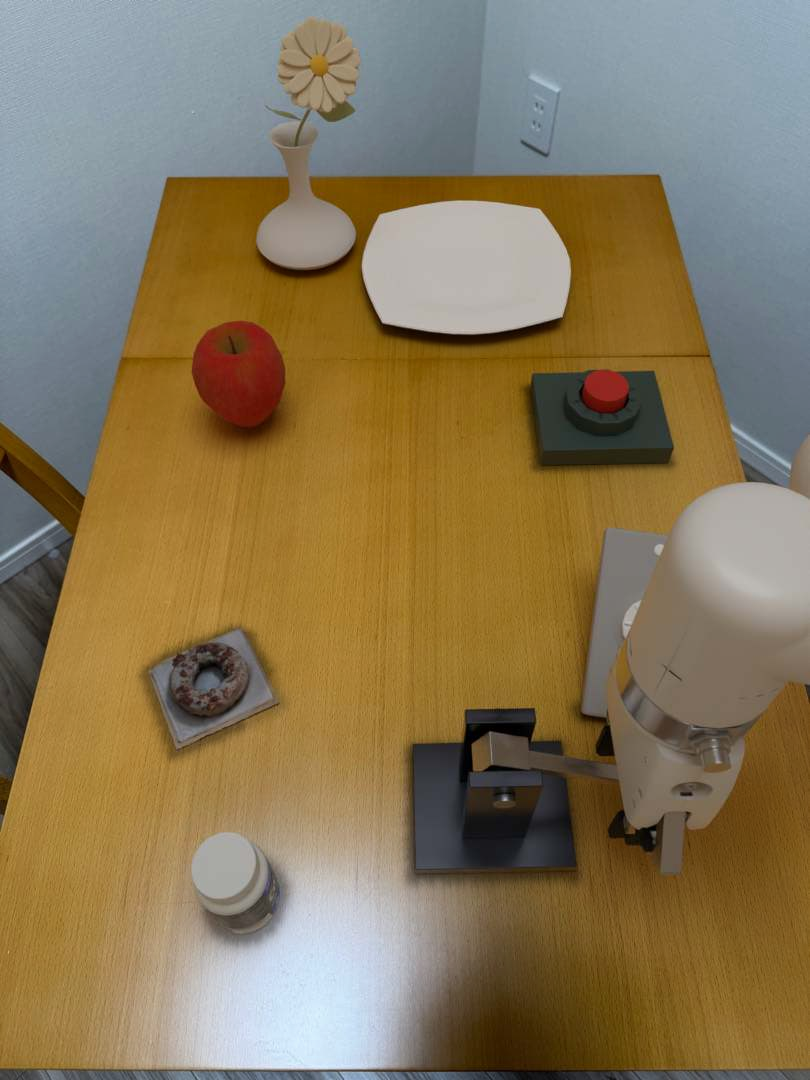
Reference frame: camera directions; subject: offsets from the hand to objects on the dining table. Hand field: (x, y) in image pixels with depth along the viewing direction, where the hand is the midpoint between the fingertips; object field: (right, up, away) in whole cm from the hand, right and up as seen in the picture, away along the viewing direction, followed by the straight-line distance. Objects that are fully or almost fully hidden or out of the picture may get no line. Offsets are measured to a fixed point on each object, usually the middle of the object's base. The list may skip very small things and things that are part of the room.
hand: (624, 790), depth 59 cm
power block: (+3, +28, +24) cm, 37 cm away
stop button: (+3, +30, +21) cm, 37 cm away
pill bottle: (-26, -7, 0) cm, 27 cm away
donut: (-30, +5, +9) cm, 32 cm away
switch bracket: (-9, -2, +3) cm, 10 cm away
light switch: (+4, +8, +10) cm, 13 cm away
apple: (-30, +29, +25) cm, 49 cm away
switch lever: (-5, +2, -3) cm, 7 cm away
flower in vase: (-26, +51, +40) cm, 70 cm away
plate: (-8, +47, +37) cm, 60 cm away
